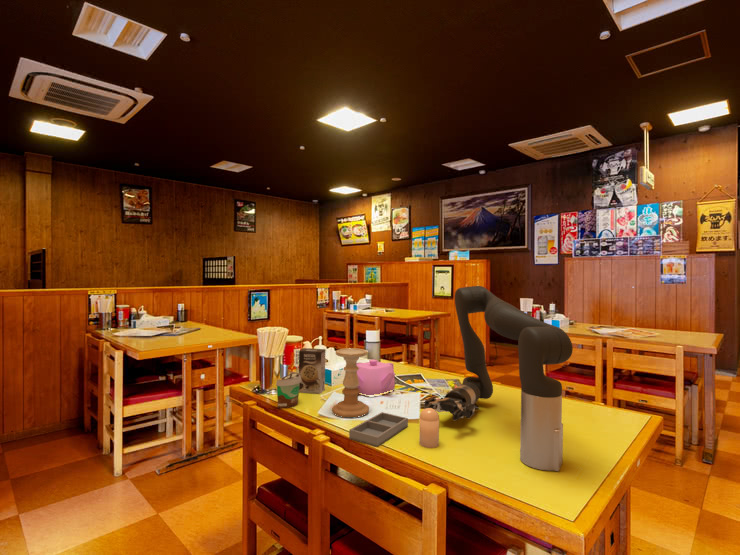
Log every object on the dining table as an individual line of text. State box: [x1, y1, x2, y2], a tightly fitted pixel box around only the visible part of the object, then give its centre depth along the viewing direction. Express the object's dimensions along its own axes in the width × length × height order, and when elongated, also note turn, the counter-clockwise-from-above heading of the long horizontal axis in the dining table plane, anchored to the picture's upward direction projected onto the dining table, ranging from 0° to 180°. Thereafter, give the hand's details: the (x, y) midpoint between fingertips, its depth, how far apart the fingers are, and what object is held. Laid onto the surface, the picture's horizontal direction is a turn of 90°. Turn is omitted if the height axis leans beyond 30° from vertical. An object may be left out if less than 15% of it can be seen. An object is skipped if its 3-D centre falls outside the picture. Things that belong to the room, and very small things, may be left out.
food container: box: [275, 371, 302, 409], centre depth 138 cm, size 12×6×10 cm, turn 168°
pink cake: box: [356, 358, 396, 395], centre depth 155 cm, size 17×17×12 cm
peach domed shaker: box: [418, 408, 440, 449], centre depth 107 cm, size 5×5×10 cm
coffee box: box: [298, 347, 327, 395], centre depth 154 cm, size 9×6×16 cm
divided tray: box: [348, 411, 409, 448], centre depth 115 cm, size 9×17×2 cm, turn 147°
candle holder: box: [331, 347, 370, 418], centre depth 131 cm, size 12×12×20 cm
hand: (439, 414), depth 113 cm, fingers open, 8 cm apart
